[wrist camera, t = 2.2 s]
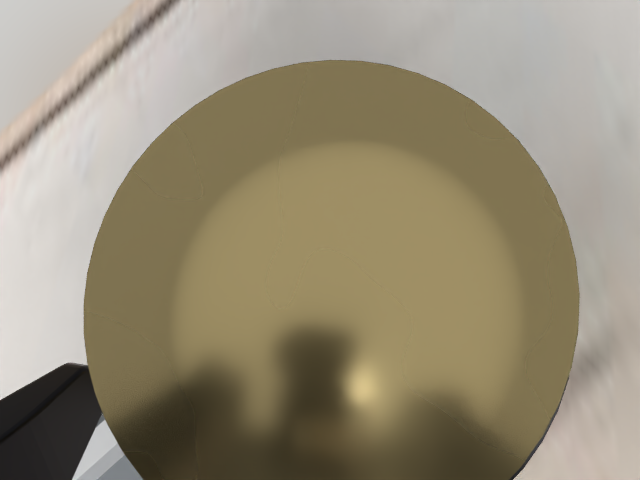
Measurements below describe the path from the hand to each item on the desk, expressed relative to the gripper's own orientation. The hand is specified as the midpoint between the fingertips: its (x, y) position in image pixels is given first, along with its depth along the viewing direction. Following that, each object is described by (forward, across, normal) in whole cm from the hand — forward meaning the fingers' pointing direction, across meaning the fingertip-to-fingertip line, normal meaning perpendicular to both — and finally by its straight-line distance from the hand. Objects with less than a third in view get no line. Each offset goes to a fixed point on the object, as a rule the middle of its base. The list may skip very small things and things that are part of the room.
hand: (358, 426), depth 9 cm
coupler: (+8, 0, +6) cm, 10 cm away
